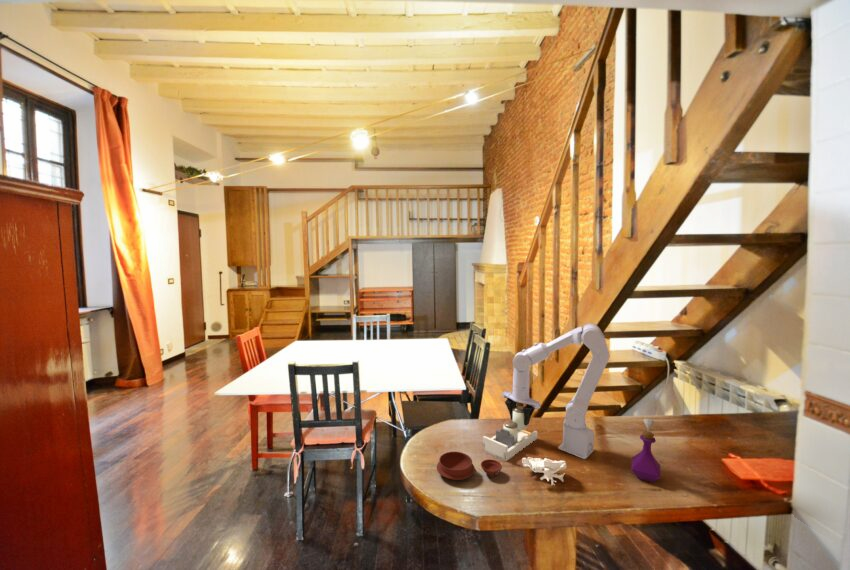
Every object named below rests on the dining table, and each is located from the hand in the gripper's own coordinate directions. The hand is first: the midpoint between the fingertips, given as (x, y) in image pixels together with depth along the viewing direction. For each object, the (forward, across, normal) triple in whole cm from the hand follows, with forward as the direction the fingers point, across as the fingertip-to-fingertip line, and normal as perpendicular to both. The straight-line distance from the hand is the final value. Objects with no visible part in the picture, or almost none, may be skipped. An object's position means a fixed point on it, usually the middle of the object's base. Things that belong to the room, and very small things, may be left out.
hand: (519, 421), depth 133 cm
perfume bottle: (+7, -39, -7) cm, 40 cm away
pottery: (+7, 0, +30) cm, 31 cm away
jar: (+2, 0, 0) cm, 2 cm away
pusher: (+5, 0, +10) cm, 11 cm away
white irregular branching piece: (+7, -17, +15) cm, 24 cm away
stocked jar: (+6, 0, +6) cm, 8 cm away
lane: (+6, 0, +6) cm, 9 cm away
